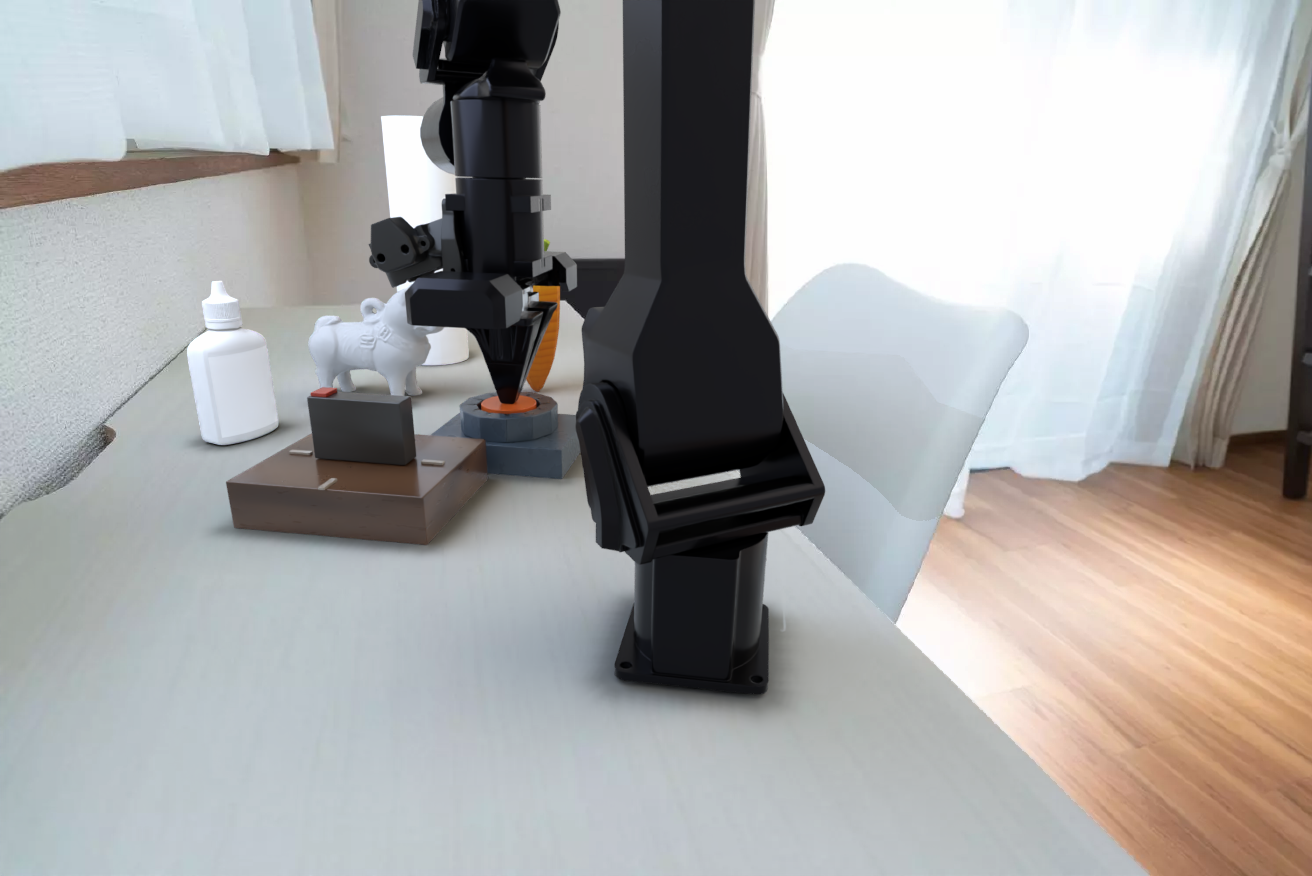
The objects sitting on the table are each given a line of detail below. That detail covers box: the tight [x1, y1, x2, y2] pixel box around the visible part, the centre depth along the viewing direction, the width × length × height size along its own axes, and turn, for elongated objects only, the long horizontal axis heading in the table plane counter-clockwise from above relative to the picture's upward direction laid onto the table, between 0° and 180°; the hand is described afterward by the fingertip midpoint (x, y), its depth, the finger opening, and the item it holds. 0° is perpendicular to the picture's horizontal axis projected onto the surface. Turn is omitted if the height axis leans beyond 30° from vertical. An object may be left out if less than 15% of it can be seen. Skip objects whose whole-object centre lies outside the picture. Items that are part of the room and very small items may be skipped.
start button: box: [481, 395, 537, 414], centre depth 56 cm, size 4×4×2 cm
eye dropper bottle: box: [186, 280, 280, 446], centre depth 58 cm, size 4×6×12 cm
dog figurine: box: [307, 284, 445, 396], centre depth 68 cm, size 5×13×11 cm, turn 87°
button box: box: [430, 391, 581, 480], centre depth 56 cm, size 8×10×4 cm
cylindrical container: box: [380, 115, 470, 366], centre depth 81 cm, size 7×7×25 cm
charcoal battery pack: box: [306, 387, 416, 465], centre depth 47 cm, size 6×2×4 cm, turn 81°
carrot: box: [526, 238, 561, 393], centre depth 71 cm, size 5×5×15 cm
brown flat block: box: [225, 432, 489, 546], centre depth 48 cm, size 10×12×3 cm
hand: (508, 402), depth 56 cm, fingers closed, pressing on start button
